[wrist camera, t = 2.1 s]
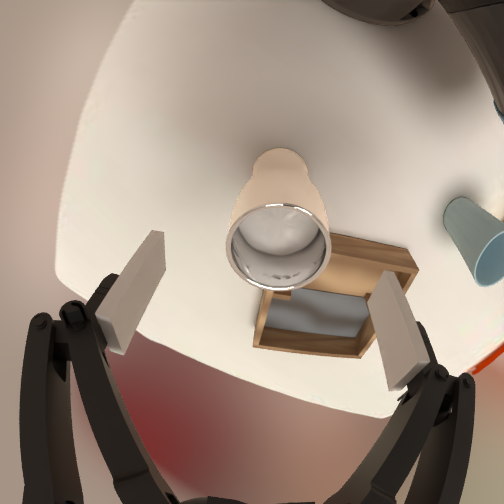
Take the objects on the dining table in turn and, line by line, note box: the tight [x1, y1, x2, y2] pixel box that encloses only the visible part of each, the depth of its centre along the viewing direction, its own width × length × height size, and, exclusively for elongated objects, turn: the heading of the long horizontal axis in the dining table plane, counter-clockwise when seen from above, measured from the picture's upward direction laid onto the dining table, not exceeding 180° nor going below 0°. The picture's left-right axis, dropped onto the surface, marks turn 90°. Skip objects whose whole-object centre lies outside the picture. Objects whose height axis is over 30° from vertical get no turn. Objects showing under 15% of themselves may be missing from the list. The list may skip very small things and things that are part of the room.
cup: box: [444, 197, 504, 287], centre depth 24 cm, size 8×8×10 cm
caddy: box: [253, 233, 419, 359], centre depth 36 cm, size 19×18×4 cm
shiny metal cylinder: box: [226, 148, 332, 291], centre depth 23 cm, size 7×7×15 cm
